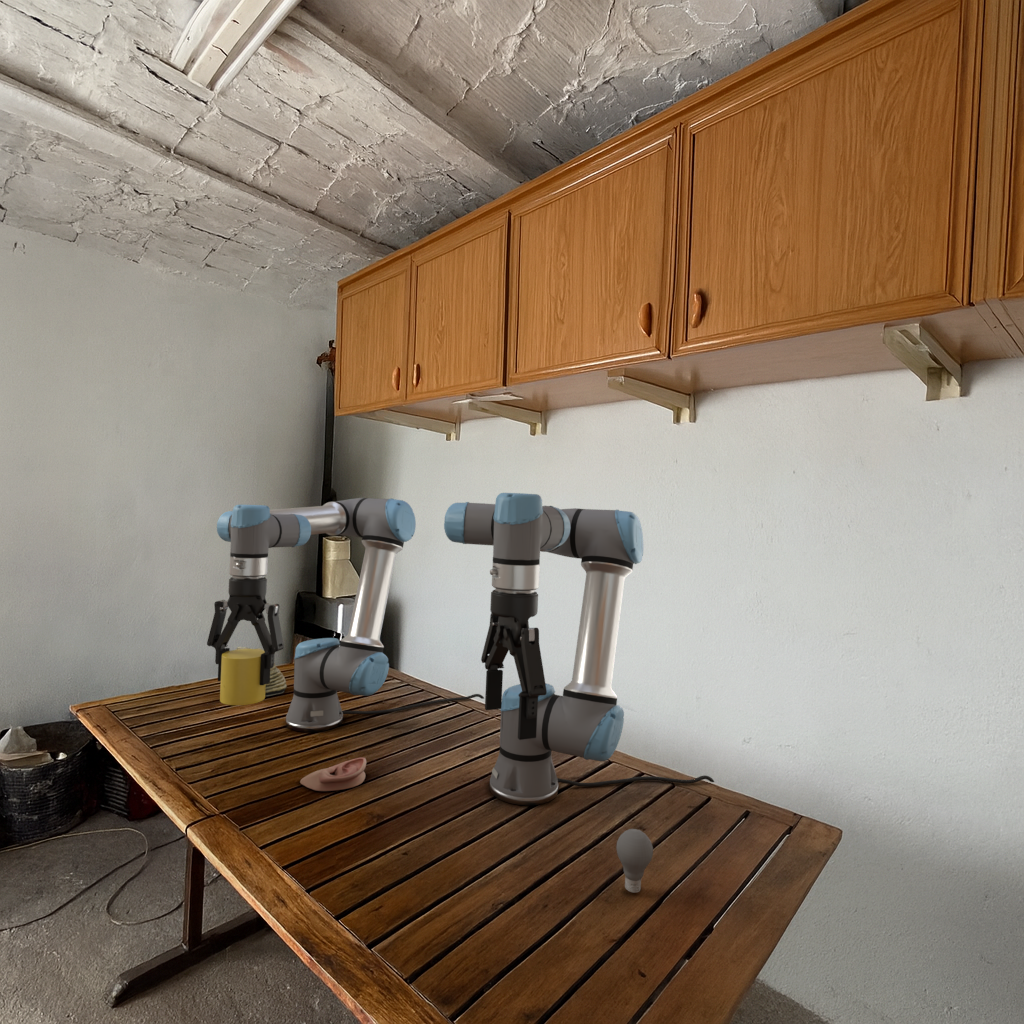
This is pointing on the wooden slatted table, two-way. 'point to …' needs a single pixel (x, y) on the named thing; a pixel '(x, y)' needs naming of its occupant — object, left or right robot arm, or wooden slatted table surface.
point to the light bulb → (634, 857)
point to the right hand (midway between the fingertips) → (508, 722)
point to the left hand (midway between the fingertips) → (243, 681)
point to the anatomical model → (337, 776)
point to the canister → (241, 677)
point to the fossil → (273, 680)
